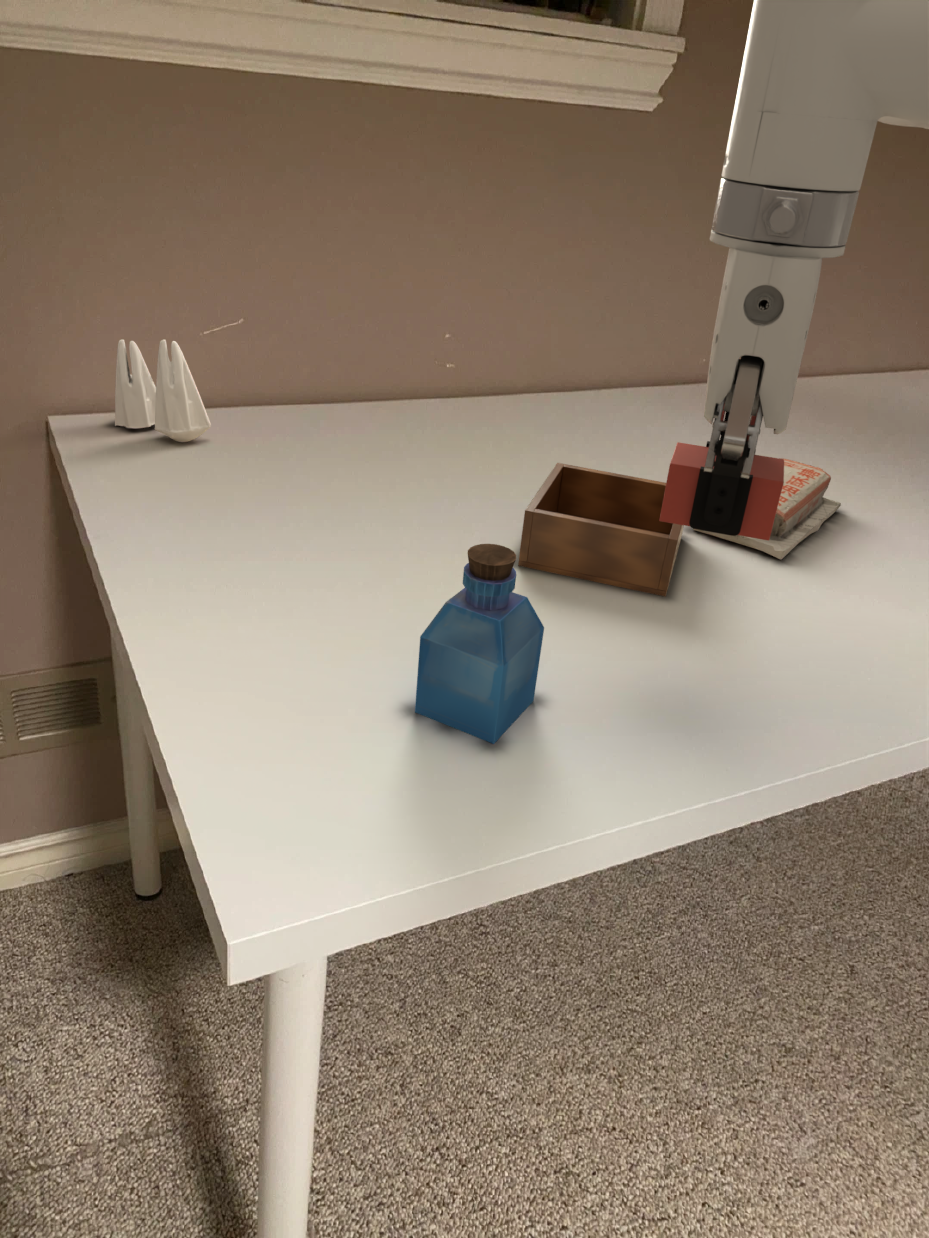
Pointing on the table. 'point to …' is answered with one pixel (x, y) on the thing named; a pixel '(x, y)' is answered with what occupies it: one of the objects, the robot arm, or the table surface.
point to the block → (693, 457)
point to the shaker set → (158, 394)
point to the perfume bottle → (481, 650)
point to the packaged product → (794, 510)
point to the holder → (601, 529)
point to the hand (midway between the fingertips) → (717, 512)
